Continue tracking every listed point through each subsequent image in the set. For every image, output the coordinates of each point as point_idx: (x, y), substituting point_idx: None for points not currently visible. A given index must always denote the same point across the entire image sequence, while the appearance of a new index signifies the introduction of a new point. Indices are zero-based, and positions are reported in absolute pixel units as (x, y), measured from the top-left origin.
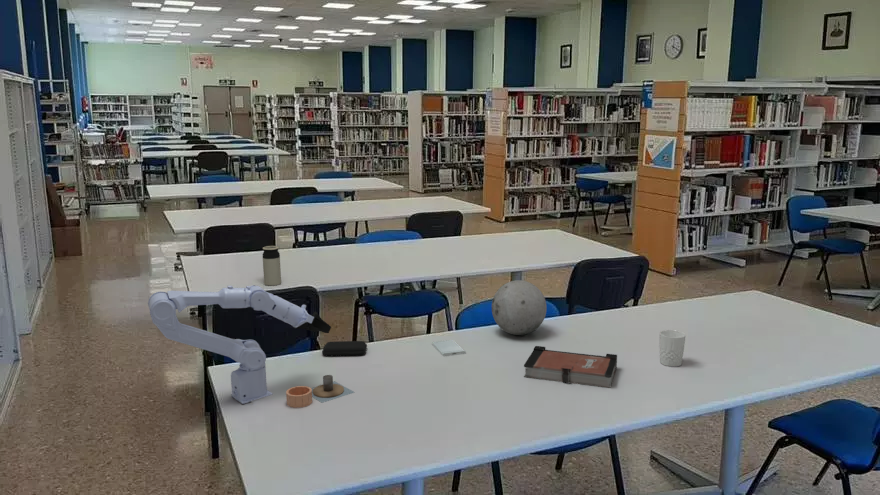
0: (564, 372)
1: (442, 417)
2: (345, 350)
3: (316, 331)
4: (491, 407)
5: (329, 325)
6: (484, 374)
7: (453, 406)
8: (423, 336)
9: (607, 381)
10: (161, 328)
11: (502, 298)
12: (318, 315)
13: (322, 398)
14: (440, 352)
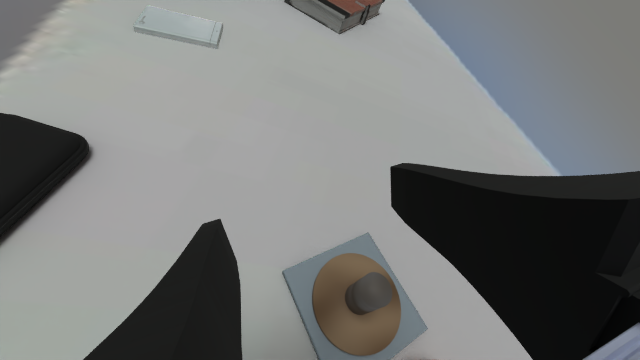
0: (367, 11)
1: (455, 140)
2: (30, 184)
3: (237, 272)
4: (422, 91)
5: (414, 164)
6: (320, 51)
7: (422, 118)
8: (59, 17)
9: (379, 7)
10: None
11: None
12: (620, 177)
13: (401, 324)
14: (200, 42)
